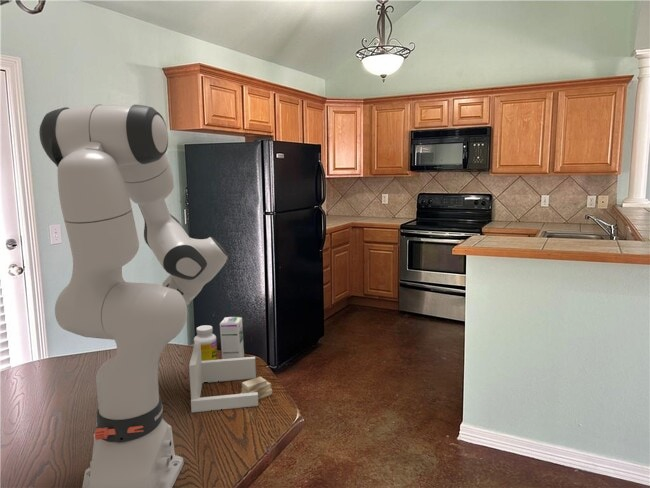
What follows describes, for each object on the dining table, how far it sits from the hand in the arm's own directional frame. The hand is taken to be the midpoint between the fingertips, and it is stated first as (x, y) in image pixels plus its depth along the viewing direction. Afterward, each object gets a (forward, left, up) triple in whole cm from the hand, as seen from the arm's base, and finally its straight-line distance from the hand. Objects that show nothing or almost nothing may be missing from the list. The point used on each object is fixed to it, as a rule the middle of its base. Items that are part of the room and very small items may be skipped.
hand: (144, 326), depth 125 cm
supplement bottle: (+12, -15, -19) cm, 26 cm away
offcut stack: (-9, -29, -19) cm, 35 cm away
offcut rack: (-5, -21, -18) cm, 28 cm away
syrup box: (+13, -23, -19) cm, 32 cm away
